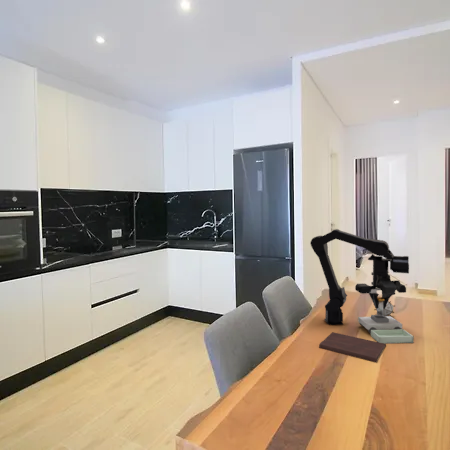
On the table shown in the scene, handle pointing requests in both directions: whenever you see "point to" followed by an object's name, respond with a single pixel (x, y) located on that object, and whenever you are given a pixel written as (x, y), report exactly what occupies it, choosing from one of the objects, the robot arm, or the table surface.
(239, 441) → the table surface
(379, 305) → the pin
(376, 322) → the white socket plate
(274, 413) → the table surface
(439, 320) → the table surface
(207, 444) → the table surface
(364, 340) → the notebook
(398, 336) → the tray
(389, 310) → the game die
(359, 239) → the robot arm
